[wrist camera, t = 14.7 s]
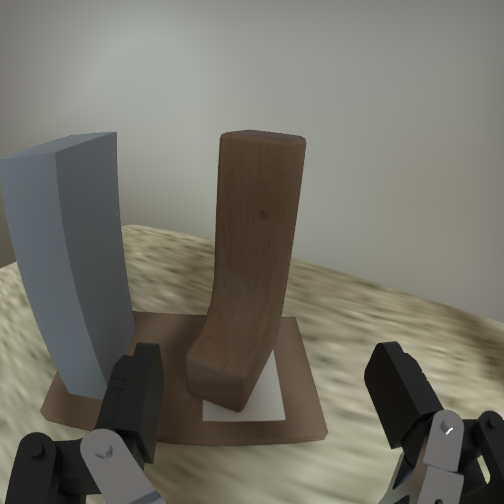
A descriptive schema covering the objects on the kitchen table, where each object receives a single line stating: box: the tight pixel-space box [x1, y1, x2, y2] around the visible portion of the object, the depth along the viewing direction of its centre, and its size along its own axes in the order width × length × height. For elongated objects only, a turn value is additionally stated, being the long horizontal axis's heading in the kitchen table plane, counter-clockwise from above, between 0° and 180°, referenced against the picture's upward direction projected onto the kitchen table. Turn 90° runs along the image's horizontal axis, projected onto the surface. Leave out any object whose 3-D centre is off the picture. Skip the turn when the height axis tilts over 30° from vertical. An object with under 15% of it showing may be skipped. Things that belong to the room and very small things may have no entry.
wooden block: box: [185, 130, 306, 412], centre depth 20 cm, size 9×4×18 cm, turn 159°
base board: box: [40, 311, 328, 446], centre depth 24 cm, size 22×14×1 cm, turn 94°
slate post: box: [0, 132, 135, 400], centre depth 19 cm, size 4×9×18 cm, turn 4°
